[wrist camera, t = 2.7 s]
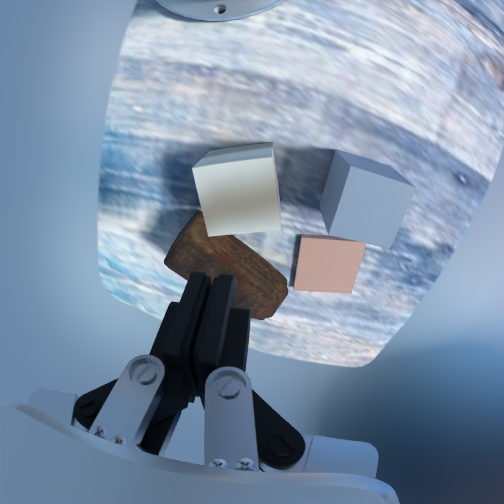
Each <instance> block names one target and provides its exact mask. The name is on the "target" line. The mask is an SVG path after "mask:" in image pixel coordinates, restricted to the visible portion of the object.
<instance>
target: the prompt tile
mask: <svg viewBox="0 0 504 504" xmlns="http://www.w3.org/2000/svg"><path fill="white" fill-rule="evenodd" d="M365 246H366V243H363V242H358V241H354V240H349V239H345V238H339V237H326V236H313V235H301V240H300V247H299V254H298V260H297V267H296V273H295V280H294V286H293V290H299V291H317V292H338V293H351V292H352V289H353V286H354V283H355V280H356V277H357V273H358V270H359V267H360V263H361V260H362V257H363V253H364V250H365Z"/></svg>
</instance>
